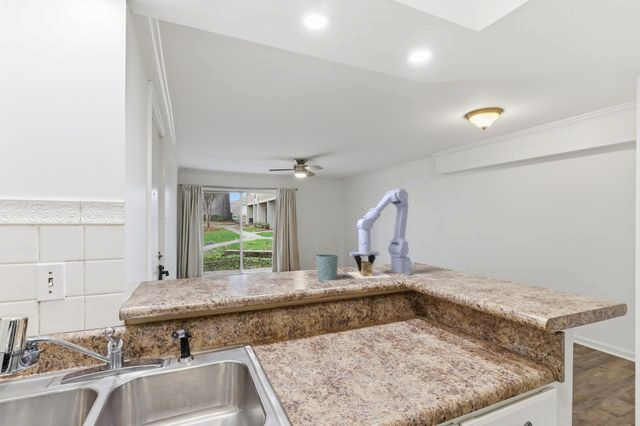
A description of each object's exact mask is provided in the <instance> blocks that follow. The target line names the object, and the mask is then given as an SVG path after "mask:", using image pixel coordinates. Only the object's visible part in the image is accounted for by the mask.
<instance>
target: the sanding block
mask: <svg viewBox="0 0 640 426" xmlns="http://www.w3.org/2000/svg"><path fill="white" fill-rule="evenodd" d="M356 267H357V271H356V272H357V273H358V274H360V275H361V276H363V277H366V276H372V272H373V265H372V263H369V262H368V260H361V271H359V270H358V265H357V264H356Z"/></svg>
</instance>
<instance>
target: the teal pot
mask: <svg viewBox="0 0 640 426" xmlns="http://www.w3.org/2000/svg"><path fill="white" fill-rule="evenodd" d="M315 260H316V261H315V262H316V269H317V281H318V283H321V282H322V284H325V281H326V282H327V281H336V280H337V279H338V261H339V255H338V254H335V253H325V254H324V253H322V254H316V255H315Z"/></svg>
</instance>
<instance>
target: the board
mask: <svg viewBox="0 0 640 426" xmlns="http://www.w3.org/2000/svg"><path fill="white" fill-rule="evenodd" d="M346 273H347V274H349V275H350V276H351V277H353V278H354V279H356V280H357V279H378V278H380V279H381V278H384V279H385V278H392V276H391V275H389V274H387V273H385V272H383V271H379V270H378V271H377V270H376V271H372V276H366V277H363V276H361V275H360V274H358V273H357V271H352V272H350V271H349V272H348V271H347V272H346Z"/></svg>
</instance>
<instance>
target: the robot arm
mask: <svg viewBox="0 0 640 426" xmlns="http://www.w3.org/2000/svg"><path fill="white" fill-rule="evenodd" d="M408 198H409V193H408V192H407V191H406V189H405V188H397V189H390V190H388V191H387V192H386V193H385V194H384V196H383V198H382V199H381V200H380V201H379V203H378V204H377V205H376V207H372V208H369V209H368V211H367V213H366V214H365V215H363V216H362V218H360V219H359V220H358V221H357V222H356V223H357V224H356V225H355V226H356V229H357V230H358V231H357V232H358V251H350V252H349V256H350V257H353V259H354V260H355V262H356V266H357V265H358V270H359V271H361V261H362V257H367V262H369V263H372V266H373V264H374V262H375V261H376V259H377V258H376V257H380V255H381V254H380V251H371V247H372V246H371V230H372V229H373V228H374V223H376V221H377V220H378V219H379V218H380V217H381V213H382V211H383V210H384V209H385V208H386V207H388V205H390V204H393V205H394V206H395V207H396V217H395V225H394V233H393V234H394V235H393V238H392V239H391V240H389V241H390V244H389V245H388V249H387V250H388V251H387V252H388V253H389V255H390V258H391V261H390V262H391V264H390V265H391V270H390V271H391V273H396V274H397V273H398V274H404V275H412V264H411V263H412V262H411V258H410V257H409V256H408V254H409V251H410V250H409V242H408V241H407V239H406V229H407V224H408V223H407V222H408V221H407V220H408V215H409V214H408V212H409V201H408V200H409V199H408Z"/></svg>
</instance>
